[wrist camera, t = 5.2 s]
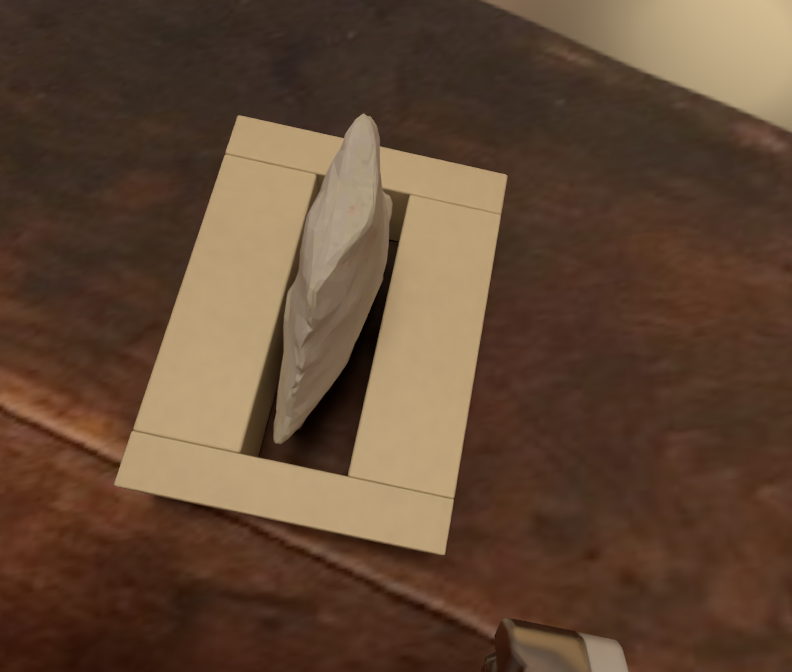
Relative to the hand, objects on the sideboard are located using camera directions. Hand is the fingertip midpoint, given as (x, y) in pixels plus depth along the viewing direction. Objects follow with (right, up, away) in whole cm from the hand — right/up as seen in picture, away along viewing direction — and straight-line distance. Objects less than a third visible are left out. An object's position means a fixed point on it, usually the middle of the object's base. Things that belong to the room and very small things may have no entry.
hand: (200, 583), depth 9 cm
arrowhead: (0, +3, +14) cm, 14 cm away
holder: (0, +3, +13) cm, 14 cm away
